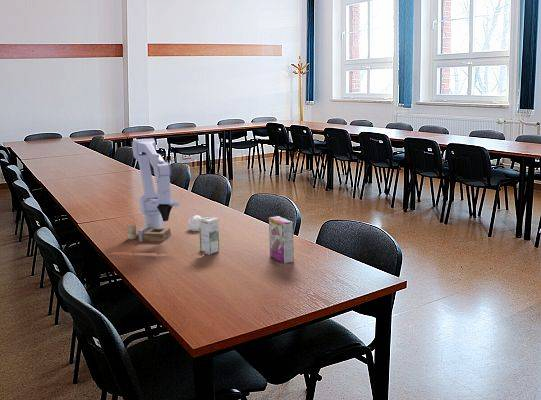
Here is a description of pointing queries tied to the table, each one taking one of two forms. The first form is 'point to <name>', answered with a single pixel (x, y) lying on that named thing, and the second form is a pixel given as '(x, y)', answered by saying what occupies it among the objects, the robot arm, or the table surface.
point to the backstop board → (143, 232)
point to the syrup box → (209, 235)
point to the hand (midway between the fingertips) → (165, 220)
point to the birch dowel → (131, 231)
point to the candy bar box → (281, 239)
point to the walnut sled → (156, 234)
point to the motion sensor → (194, 223)
